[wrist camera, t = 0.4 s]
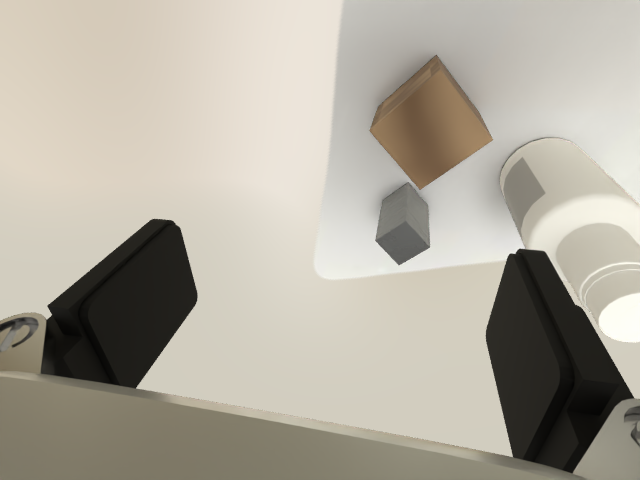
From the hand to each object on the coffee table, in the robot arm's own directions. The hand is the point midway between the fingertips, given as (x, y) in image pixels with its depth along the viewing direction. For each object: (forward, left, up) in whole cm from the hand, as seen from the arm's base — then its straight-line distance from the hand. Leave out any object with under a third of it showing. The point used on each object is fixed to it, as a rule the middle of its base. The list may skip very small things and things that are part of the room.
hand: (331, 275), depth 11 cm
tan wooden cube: (-1, +3, -26) cm, 26 cm away
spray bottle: (-5, +14, -26) cm, 30 cm away
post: (+6, +9, -26) cm, 28 cm away
